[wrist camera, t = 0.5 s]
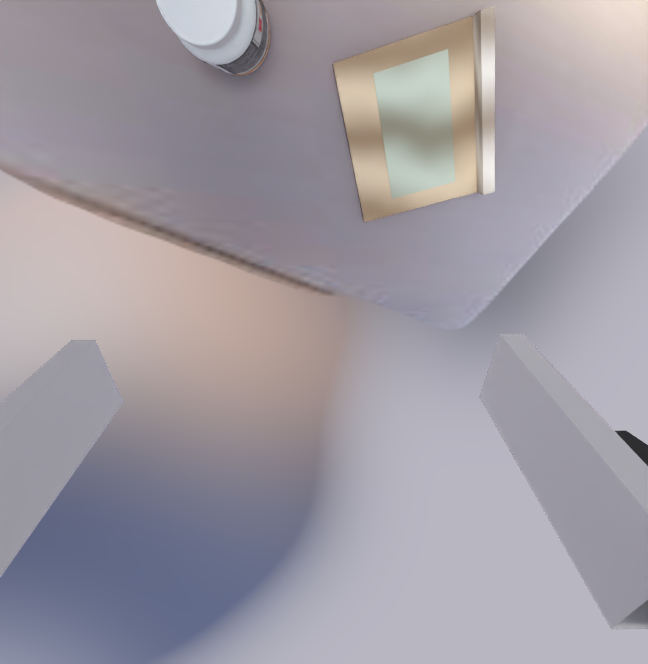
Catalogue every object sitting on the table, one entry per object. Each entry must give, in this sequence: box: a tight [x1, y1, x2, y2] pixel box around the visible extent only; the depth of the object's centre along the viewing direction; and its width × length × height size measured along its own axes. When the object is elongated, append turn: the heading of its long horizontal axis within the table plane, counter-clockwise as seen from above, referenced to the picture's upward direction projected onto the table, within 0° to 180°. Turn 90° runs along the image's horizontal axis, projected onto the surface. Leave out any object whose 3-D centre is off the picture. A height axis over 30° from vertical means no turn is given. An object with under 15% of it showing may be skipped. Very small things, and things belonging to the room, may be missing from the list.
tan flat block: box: [333, 5, 495, 222], centre depth 29 cm, size 13×12×2 cm
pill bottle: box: [156, 0, 270, 75], centre depth 23 cm, size 6×6×10 cm
